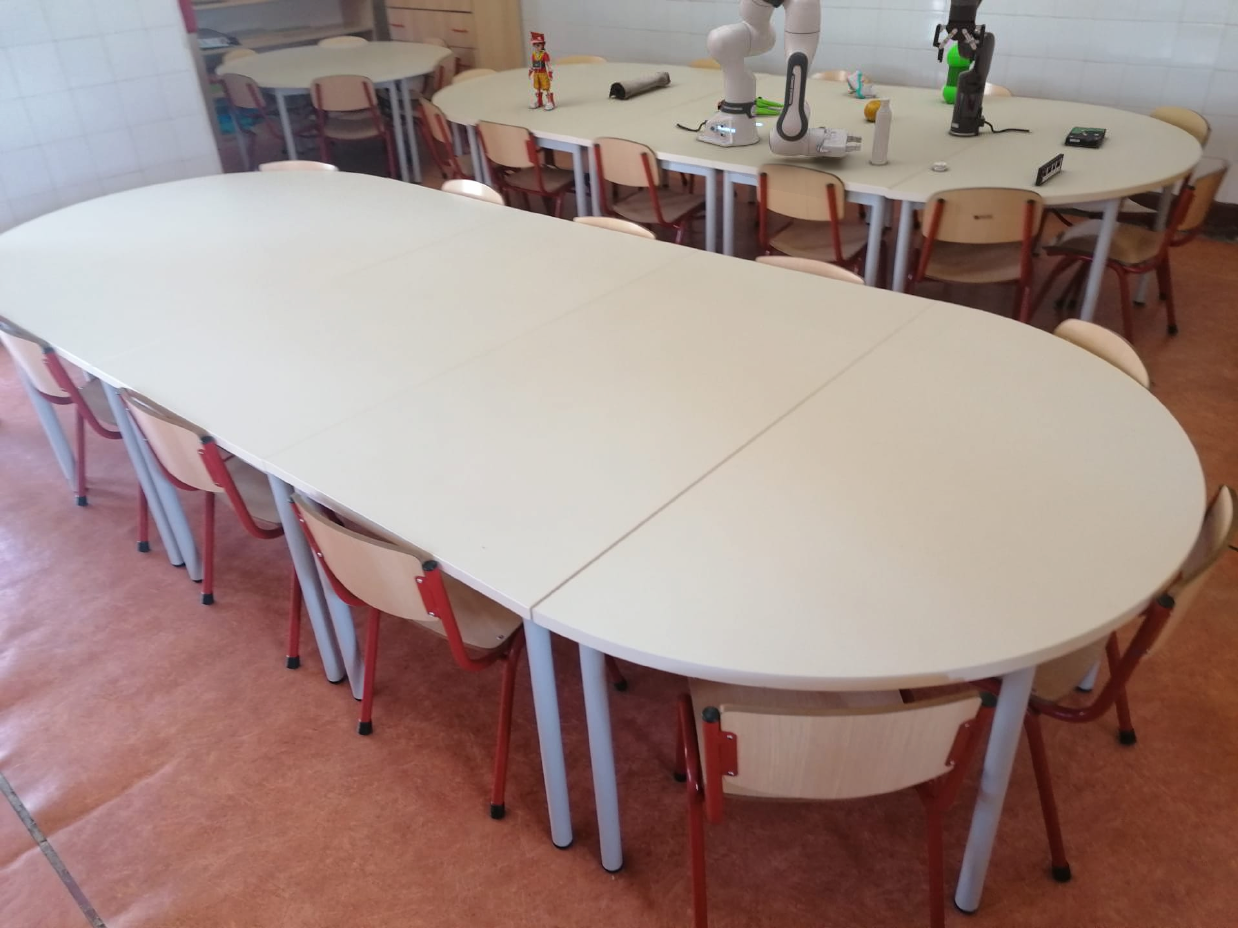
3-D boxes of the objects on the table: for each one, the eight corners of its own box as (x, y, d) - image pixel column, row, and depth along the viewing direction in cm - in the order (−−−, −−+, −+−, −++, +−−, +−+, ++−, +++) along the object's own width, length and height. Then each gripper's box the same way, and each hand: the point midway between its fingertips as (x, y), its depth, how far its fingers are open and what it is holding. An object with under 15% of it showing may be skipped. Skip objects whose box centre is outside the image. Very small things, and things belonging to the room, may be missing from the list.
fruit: (858, 112, 335) (872, 93, 332) (861, 115, 343) (874, 96, 340) (877, 125, 334) (891, 105, 331) (879, 128, 342) (892, 108, 339)
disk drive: (1097, 149, 296) (1104, 136, 306) (1099, 140, 294) (1106, 128, 304) (1064, 145, 301) (1072, 133, 311) (1065, 137, 299) (1074, 125, 309)
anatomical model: (842, 70, 374) (865, 63, 373) (844, 95, 380) (867, 89, 379) (852, 77, 361) (877, 71, 360) (855, 104, 367) (879, 97, 366)
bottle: (888, 164, 294) (895, 100, 283) (873, 165, 294) (880, 101, 283) (883, 160, 298) (890, 96, 287) (869, 161, 298) (875, 97, 287)
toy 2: (708, 113, 354) (778, 126, 342) (709, 100, 352) (780, 111, 339) (738, 103, 375) (805, 114, 362) (739, 90, 372) (807, 101, 359)
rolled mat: (651, 76, 408) (662, 61, 399) (662, 93, 408) (674, 79, 400) (605, 92, 391) (616, 77, 383) (617, 110, 391) (628, 95, 383)
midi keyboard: (1039, 185, 269) (1043, 168, 266) (1035, 184, 270) (1038, 168, 267) (1060, 170, 279) (1064, 154, 277) (1056, 169, 280) (1060, 153, 277)
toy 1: (525, 109, 381) (517, 32, 364) (534, 104, 388) (527, 28, 371) (550, 110, 377) (543, 32, 360) (559, 105, 384) (553, 28, 367)
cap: (946, 168, 288) (947, 162, 287) (944, 171, 285) (944, 165, 284) (935, 167, 289) (935, 161, 288) (932, 170, 287) (933, 164, 286)
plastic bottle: (973, 101, 354) (984, 32, 339) (955, 106, 349) (966, 36, 335) (952, 97, 361) (962, 29, 346) (934, 102, 356) (944, 33, 342)
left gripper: (816, 142, 288) (861, 142, 284) (821, 125, 304) (863, 125, 301) (815, 161, 291) (859, 162, 288) (819, 144, 307) (861, 144, 304)
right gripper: (991, 0, 260) (981, 60, 269) (940, 0, 265) (932, 59, 274) (989, 4, 254) (979, 65, 264) (937, 4, 259) (929, 64, 269)
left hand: (861, 143), depth 294 cm, fingers open, 8 cm apart
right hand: (955, 62), depth 269 cm, fingers open, 8 cm apart
